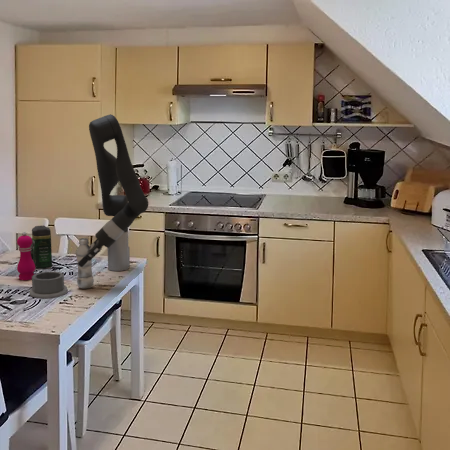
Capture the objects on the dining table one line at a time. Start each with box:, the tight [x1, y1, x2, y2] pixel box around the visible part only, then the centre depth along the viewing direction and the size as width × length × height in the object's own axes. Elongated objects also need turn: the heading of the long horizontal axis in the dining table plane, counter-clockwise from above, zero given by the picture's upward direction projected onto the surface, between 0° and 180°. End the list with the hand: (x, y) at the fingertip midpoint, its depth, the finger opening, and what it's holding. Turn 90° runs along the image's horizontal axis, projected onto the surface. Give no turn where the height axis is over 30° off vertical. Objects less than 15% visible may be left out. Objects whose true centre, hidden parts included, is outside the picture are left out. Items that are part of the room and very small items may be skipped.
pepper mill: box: [16, 231, 36, 281], centre depth 228 cm, size 7×7×20 cm
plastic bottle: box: [75, 237, 95, 290], centre depth 217 cm, size 6×7×20 cm
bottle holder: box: [28, 271, 68, 299], centre depth 212 cm, size 14×14×7 cm
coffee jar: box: [31, 225, 53, 270], centre depth 246 cm, size 10×8×19 cm
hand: (80, 262), depth 216 cm, fingers closed on plastic bottle, 6 cm apart
